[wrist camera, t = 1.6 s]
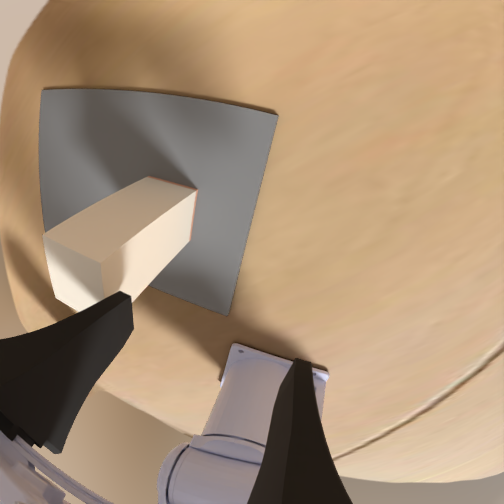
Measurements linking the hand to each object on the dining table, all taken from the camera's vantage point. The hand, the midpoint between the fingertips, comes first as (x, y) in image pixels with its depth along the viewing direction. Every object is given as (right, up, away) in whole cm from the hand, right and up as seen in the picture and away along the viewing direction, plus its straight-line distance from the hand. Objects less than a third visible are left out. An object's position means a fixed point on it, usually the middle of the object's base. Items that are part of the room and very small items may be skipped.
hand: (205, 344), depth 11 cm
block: (-4, +7, +9) cm, 12 cm away
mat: (-9, +9, +10) cm, 16 cm away
